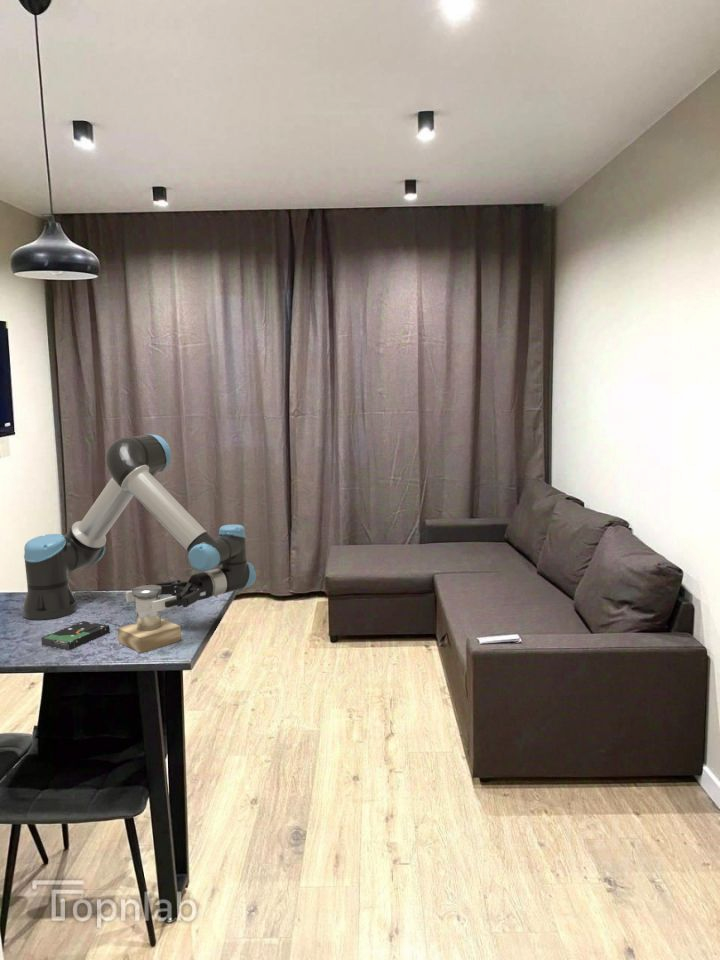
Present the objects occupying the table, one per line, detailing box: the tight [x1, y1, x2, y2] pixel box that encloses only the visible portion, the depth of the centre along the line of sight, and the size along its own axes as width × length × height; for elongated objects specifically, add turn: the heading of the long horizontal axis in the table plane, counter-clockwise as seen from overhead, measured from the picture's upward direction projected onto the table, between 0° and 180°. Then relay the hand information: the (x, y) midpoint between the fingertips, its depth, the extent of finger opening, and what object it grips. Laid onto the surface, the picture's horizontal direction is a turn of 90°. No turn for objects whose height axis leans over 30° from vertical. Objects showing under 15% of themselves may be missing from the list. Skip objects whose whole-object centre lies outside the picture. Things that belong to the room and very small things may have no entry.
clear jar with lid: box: [131, 584, 162, 631], centre depth 193 cm, size 8×8×11 cm
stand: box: [117, 618, 182, 654], centre depth 193 cm, size 12×12×4 cm
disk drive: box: [41, 620, 111, 651], centre depth 197 cm, size 10×3×15 cm
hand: (139, 602), depth 190 cm, fingers open, 13 cm apart
